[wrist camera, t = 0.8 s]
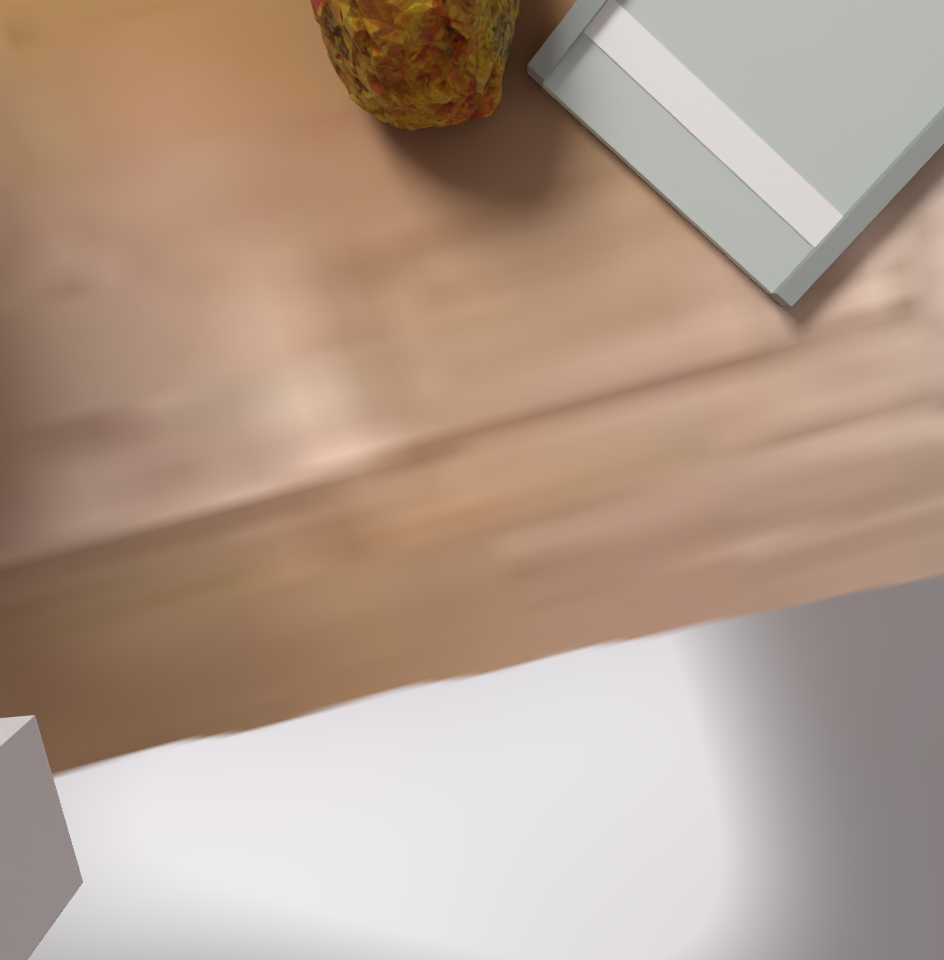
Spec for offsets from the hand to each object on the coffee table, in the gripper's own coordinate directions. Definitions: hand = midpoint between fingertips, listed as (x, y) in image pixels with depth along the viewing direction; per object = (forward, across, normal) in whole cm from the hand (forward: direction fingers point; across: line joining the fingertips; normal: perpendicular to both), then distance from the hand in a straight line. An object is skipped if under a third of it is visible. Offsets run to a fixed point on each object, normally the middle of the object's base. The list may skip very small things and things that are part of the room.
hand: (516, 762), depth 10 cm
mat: (+24, +13, +15) cm, 31 cm away
